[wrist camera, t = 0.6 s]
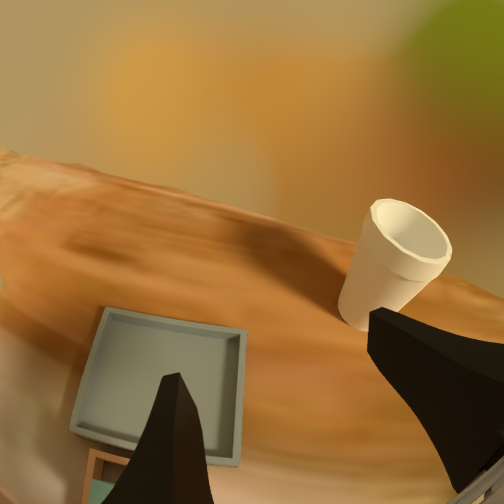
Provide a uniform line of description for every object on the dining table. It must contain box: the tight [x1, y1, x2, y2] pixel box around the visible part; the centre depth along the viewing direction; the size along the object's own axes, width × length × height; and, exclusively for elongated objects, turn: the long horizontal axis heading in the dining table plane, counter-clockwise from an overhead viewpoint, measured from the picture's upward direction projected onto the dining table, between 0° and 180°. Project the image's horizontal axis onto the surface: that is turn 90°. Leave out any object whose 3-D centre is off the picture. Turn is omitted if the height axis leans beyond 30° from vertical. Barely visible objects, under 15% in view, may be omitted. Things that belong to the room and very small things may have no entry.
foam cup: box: [338, 199, 452, 331], centre depth 31 cm, size 10×9×13 cm
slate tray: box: [68, 306, 247, 468], centre depth 24 cm, size 13×14×2 cm
